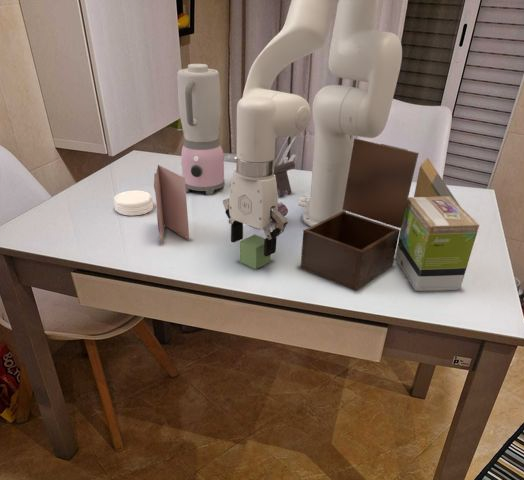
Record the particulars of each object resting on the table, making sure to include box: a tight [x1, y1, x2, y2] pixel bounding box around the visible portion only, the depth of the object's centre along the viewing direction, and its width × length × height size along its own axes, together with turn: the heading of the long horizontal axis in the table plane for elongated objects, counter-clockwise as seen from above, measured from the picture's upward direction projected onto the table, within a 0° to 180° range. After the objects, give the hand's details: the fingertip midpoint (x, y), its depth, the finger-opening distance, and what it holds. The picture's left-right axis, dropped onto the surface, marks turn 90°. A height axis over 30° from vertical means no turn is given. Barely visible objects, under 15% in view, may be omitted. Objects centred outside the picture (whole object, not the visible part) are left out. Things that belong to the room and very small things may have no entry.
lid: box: [342, 138, 420, 229], centre depth 106 cm, size 15×15×5 cm
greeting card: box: [153, 164, 190, 245], centre depth 117 cm, size 11×7×15 cm, turn 5°
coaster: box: [113, 189, 154, 216], centre depth 133 cm, size 10×10×4 cm
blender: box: [176, 63, 226, 196], centre depth 137 cm, size 16×12×32 cm
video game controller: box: [276, 201, 289, 223], centre depth 126 cm, size 10×5×7 cm, turn 118°
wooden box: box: [300, 211, 401, 292], centre depth 107 cm, size 15×15×9 cm
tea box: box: [394, 196, 480, 292], centre depth 103 cm, size 15×10×15 cm
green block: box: [238, 234, 272, 270], centre depth 110 cm, size 5×5×5 cm
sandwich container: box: [413, 157, 461, 207], centre depth 125 cm, size 9×15×15 cm, turn 64°
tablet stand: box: [274, 160, 296, 198], centre depth 144 cm, size 9×8×8 cm
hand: (252, 247), depth 108 cm, fingers open, 9 cm apart
